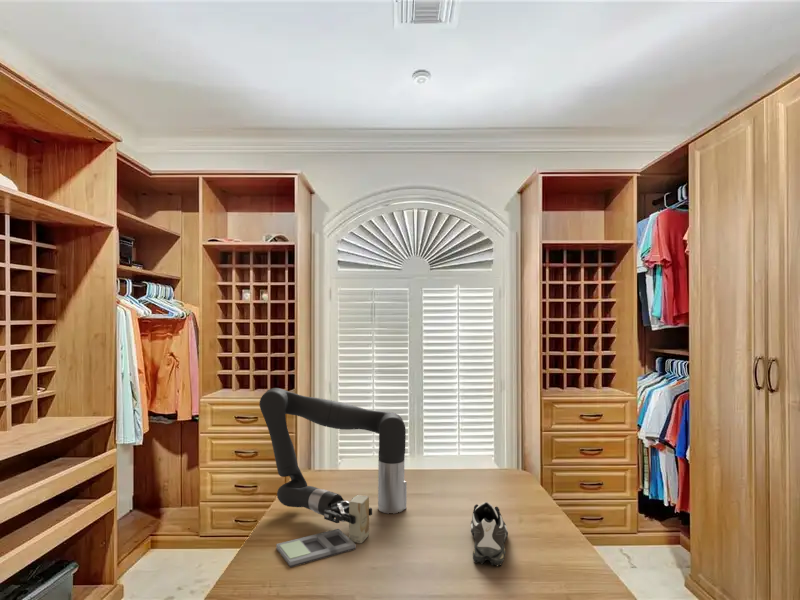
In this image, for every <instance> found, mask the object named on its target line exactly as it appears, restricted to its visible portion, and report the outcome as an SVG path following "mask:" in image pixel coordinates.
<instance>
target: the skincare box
mask: <svg viewBox="0 0 800 600" xmlns="http://www.w3.org/2000/svg"><path fill="white" fill-rule="evenodd" d="M352 498H353V499H352ZM352 498H351V500H349V501H350V502H349V514H350V515H353V516H355V518H356V519H355V523H354V524H351V523H349V522H348V524H349V525H348V527H349V528H348V538H349V539H350V540H352V541H353V542H354V543H355V544H356V543H358V544H363V542H365V541H366V540H367V538H368V537H369V535H370V516H369V507H370V496H367V495H363V494H362V495H361V494H357V495H355V496H354V497H352Z"/></svg>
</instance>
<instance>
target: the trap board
mask: <svg viewBox="0 0 800 600" xmlns="http://www.w3.org/2000/svg"><path fill="white" fill-rule="evenodd" d="M356 545H357V544H356V542H353V541H352V540H350V539H349V536H347V535H346V534H345V533H344V532H343V531H342V530H341V529H340V528H335V529H331V530H326V531H324V532H319V533H316V534H312V535H307V536H303V537H299V538H296V539H291V540H287V541H283V542H279V543H276V546H275V547H276V548H275V549H276V551H277V553H279V554H281V555H280V557H282V559H283V560H284V562H285V563H286V562H287V563H286V564H287V565H288V566H290V567H289V568H292V567H297V566H300V564H301V565H304V563H305V564H307V563H311V562H316V561H319V560H322V559H325V558H329V557H334V556H337V555H341V554H344V553H347V552H352V551H354V550H356V548H357V547H356Z"/></svg>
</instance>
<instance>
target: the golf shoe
mask: <svg viewBox="0 0 800 600" xmlns="http://www.w3.org/2000/svg"><path fill="white" fill-rule="evenodd" d="M500 511H501V510H500V508H499V507H498V506H493V505H492V504H491V503H490V502H488V501H484V502H482V503H479V504H478V503H477V504H475V505H474V506H473V511H472V517H471V521H470V532H471V535H472V536H473V538H474V540H475V542H474V549H473V552H472V559H473V562H474V563H475V564H477V563H480V565H483V564H484V563H485V562H486V561H489V563H490V565H491V566H494V565H495V566H496V565H498V566H500V564H501V565H502V563H503V562H504V560H505V558H504V557H506V548H505V543H506V540H507V539H508V535H509V531H508V527H507V524H506V523H505V521H504V519H503V515H502V514H501V512H500ZM506 538H507V539H506Z"/></svg>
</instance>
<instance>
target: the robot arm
mask: <svg viewBox="0 0 800 600" xmlns="http://www.w3.org/2000/svg"><path fill="white" fill-rule="evenodd" d="M259 408H260V412H261V413H262V416H263V420H264V421H265V424H266V427H267V430H268V432H269V436H270V440H271V444H272V450H273V454H274V461H275V465H276V469H277V473H278V476H280V477H283V478H284V477H285V478H286V477H289V478H290V480H289V481H287V482H285V483H283V484H282V485H280V486H279V487H278V489H277V492H276V496H277V500H278V502H280V503H281V504H282V505H283V506H284V507H285V506H286V507H291V508H305V509H307V510H309V511H310V510H311V511H313V512H314V513H316V514H318V515H320V516H321V515H322V516H324V517H323V519H324V520H326V521H330V522H331V523H335V524H339V523H340V522H342V523H344V522H347V523H348V524H349V523H351V524H354V523H355V519H356V518H355V516H353V515H350V514H349V502H350V501H351V500H352V499H353V498H354V497H352V498H351V500H345V499H344V498H343V496H342V495H341V494H339V493H336V492H333V491H330V490H327V489H323V488H318V487H316V486H311V485H308V483H307V481H306V478H305V477H304V475H303V473H302V471H301V469H300V467H299V465H298V460H297V454H296V451H295V447H294V444H293V441H292V439H291V435H290V433H289V430H288V429H289V428H288V423H287V418H286V415H291V416H297V417H301V418H304V419H306V420H308V421H310V422H311V423H314V424H316V425H318V426H322V427H327V428H332V429H335V430H350V431H351V430H364V431H368V432H373V433H375V434H376V433H377V434H378V464H377V465H378V467H377V469H378V471H377V472H378V473H377V474H378V475H377V477H378V480H377V481H378V482H377V483H378V484H377V485H378V486H377V489H378V490H377V493H378V494H377V496H378V497H377V509H378V510H379V512H381V513H383V514H384V513H385V514H389V513H393V514H398V512H399V513H401V512H403V511H404V510H406V509H407V500H408V499H407V497H408V496H407V493H408V492H407V489H408V488H407V485H408V484H407V481H406V480H405V457H406V456H405V455H406V439H407V438H406V435H407V433H406V432H407V431H406V424H405V422H404V420H403V418H402V416H400V415H399V414H398V413H395V412H390V411H389V412H388V411H382V410H381V411H379V410H374V409H373V410H372V409H366V408H363V407H360V406H357V405H353V404H350V403H349V404H348V403H344V402H340V401H336V400H332V399H331V400H330V399H326V398H320V397H312V396H306V395H302V394H298V393H296V392H291V391H288V390H286V389H283V388H279V387H273V388H270V389H268V390H267V391H265V392H264V393H263V394H262V395H261V397H260V400H259ZM372 515H373V508H372V507H370V506H369V517H371V516H372Z"/></svg>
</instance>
